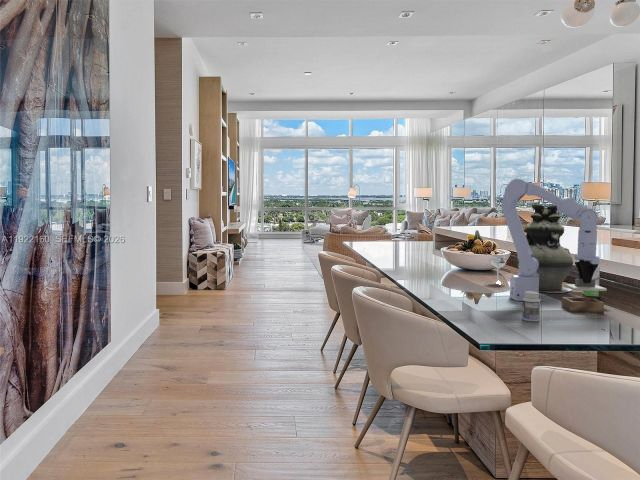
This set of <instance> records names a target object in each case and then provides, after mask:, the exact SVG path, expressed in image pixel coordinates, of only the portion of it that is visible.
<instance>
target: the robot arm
mask: <svg viewBox="0 0 640 480" xmlns="http://www.w3.org/2000/svg"><path fill="white" fill-rule="evenodd" d="M525 195H526V196H531V197H532V196H534V197H535V196H536V197H538V198H540V199H541V200H544V201H545V202H547V203H550V204H552V205H553V206H554V205H556V206H557V209H558V210H557V212H559V213H561V214H563V215H565V216H566V217H569V218H571V219H572V220H574V221H575V220H578V222H579V229H578V230H577V231H578V233H577V234H578V235H577V253H576V254H574V260H577V261H574V265H575V267H576V269H577V273H578V276H579V277H578V279H583V283H591V280H592V277H593V274H594V272H595V270H596V268H597V267H598V266H599V264H600V256H598V255H597V241H598V239H597V238H598V230H597V229H598V225H597V223H598V221H599V216H598V213H597V212H596V210H594V209H592V208H588V207H589V206H588V205H587V204H582V203H580V202H578V201H577V200H575V198H574V197H572V196H571V197H569V196H567V197H566V196H565V197H562V198H561V197H560V196H558V195H556V194H554V193H552V192H551V191H548V190H547V189H545V188H543V187H541V186H539V185H538V184H534V183H532V182H529V181H525V180H523V179H521V178H513V179H511V180H510V181H509V183H508V184H507V185H506V187H505V189H504V193H503V197H502V200H501V204H500V206H501V207H500V208H501V211H502V213H503V216H504V219H505V222H506V224H507V228H508V230H509V233H510V236H511V238H512V242H513V244H514V247H515V250H516V254H517V257H518V259H519V266H518V265H517V267H518V270H519V272H518V273H517V274H513V275H511V276H510V281H509V282H510V283H509V298H510V299H513V300H514V301H519V302H523V299H524V298H525V291H534V292H539V274H538V273H537V272H536V271H537V269H538V267H539V262H538V260H537V259H536V258H535V257H534V255H533V253H532V251H531V249H530V246H529V244H528V241H527V238H526V231H525V229H524V227H523V224H522V222H521V219H520V215H519V212H518V210H517V206H518V204H519V203H520V202H521V201H520V200H521V199H522V198H524V196H525ZM539 293H540V292H539ZM538 299H540V302H543V299H541V298H540V297H539V298H538Z"/></svg>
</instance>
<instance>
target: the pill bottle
mask: <svg viewBox="0 0 640 480" xmlns="http://www.w3.org/2000/svg"><path fill="white" fill-rule="evenodd" d="M538 298H539V299H538ZM540 299H541V298H540V292H534V291H525V298H524V299H523V301H522V320H524V321H526V322H538V321H540V315H541V314H540V313H541V312H540V311H541V301H540Z"/></svg>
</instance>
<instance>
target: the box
mask: <svg viewBox="0 0 640 480" xmlns="http://www.w3.org/2000/svg"><path fill="white" fill-rule="evenodd" d="M561 308H562V309H564V310H566V311H569V312H571V313H586V312H589V314H591V313H592V314H596V313H597V314H604V313H605V312H604V310H605V302H604V301H601V300H599V299H597V298H594V297H571V296H570V297H569V296H568V297H567V296H566V297H565V296H562V297H561Z"/></svg>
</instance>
